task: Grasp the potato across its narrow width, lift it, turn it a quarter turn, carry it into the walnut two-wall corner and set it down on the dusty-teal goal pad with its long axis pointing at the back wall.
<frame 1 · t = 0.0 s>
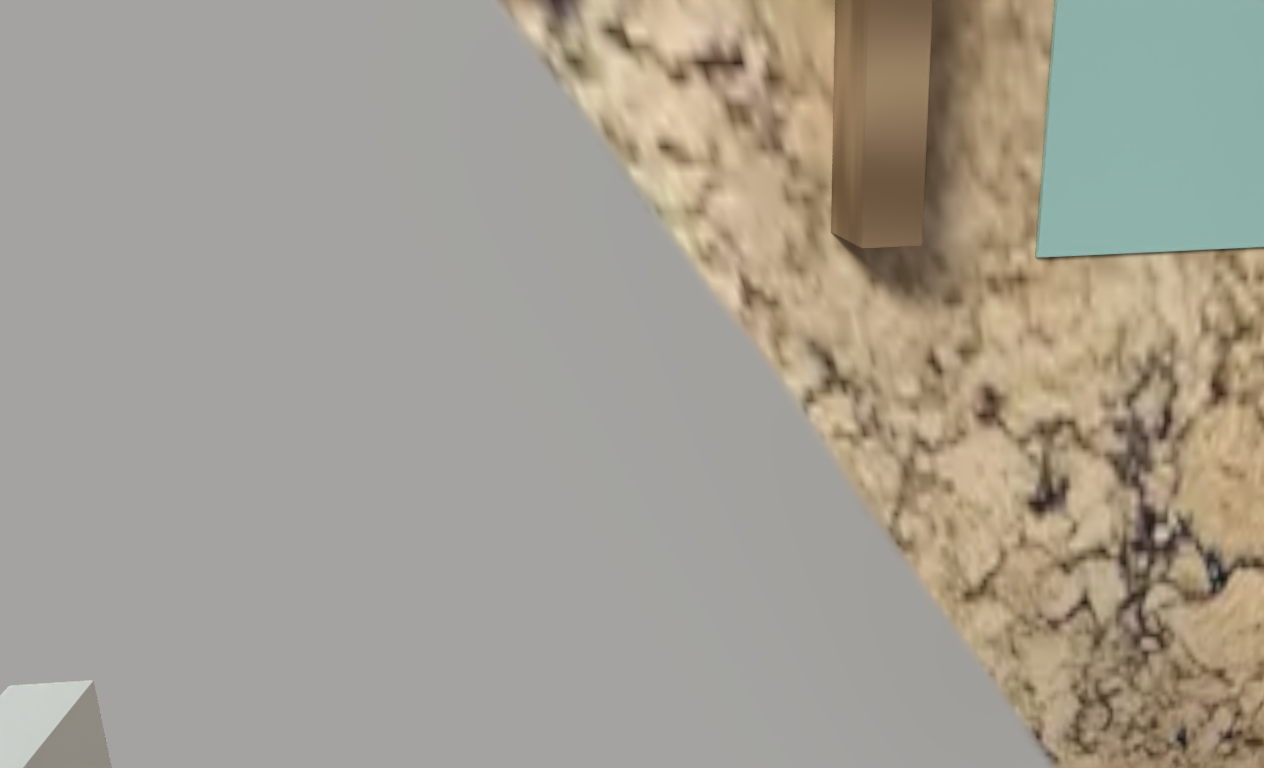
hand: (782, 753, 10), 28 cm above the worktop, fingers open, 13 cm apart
goal pad: (1194, 47, 36), on the worktop
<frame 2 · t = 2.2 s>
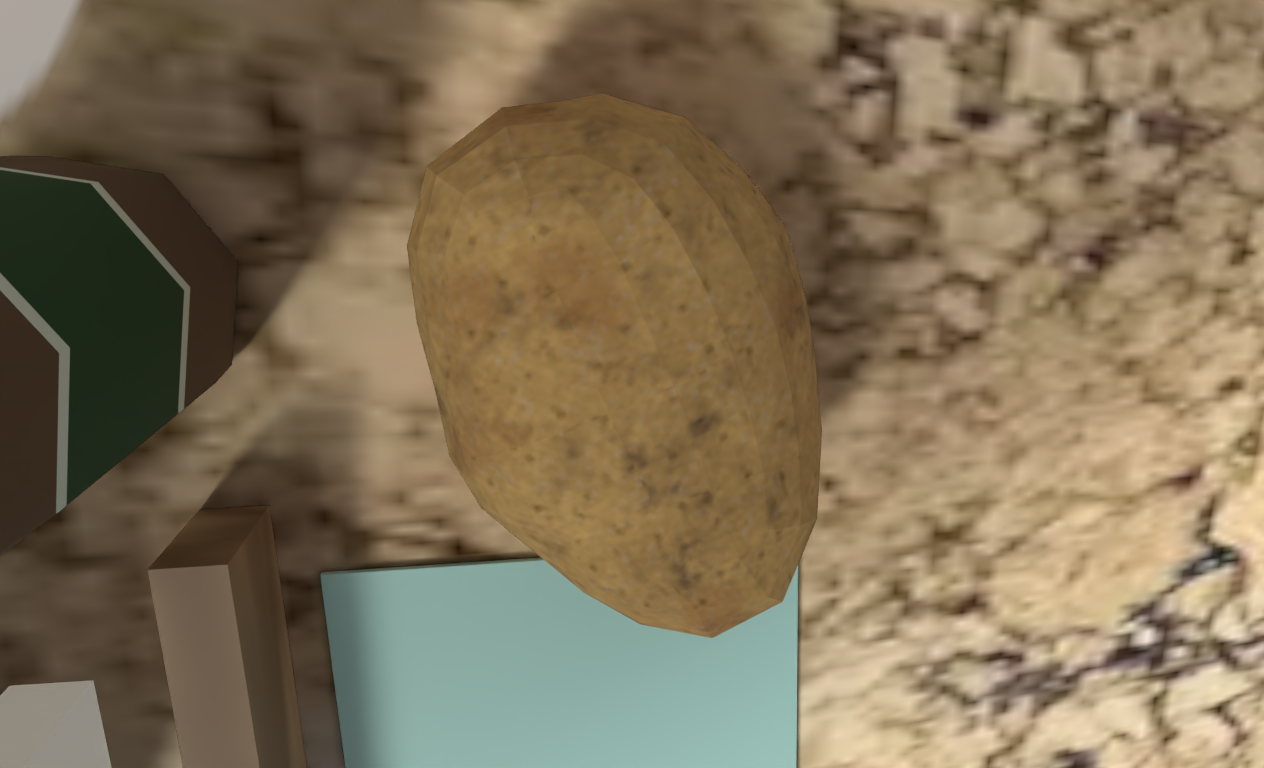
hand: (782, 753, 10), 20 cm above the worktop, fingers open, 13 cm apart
beer bottle: (111, 291, 28), on the worktop
goal pad: (571, 706, 32), on the worktop
potato: (618, 335, 29), on the worktop
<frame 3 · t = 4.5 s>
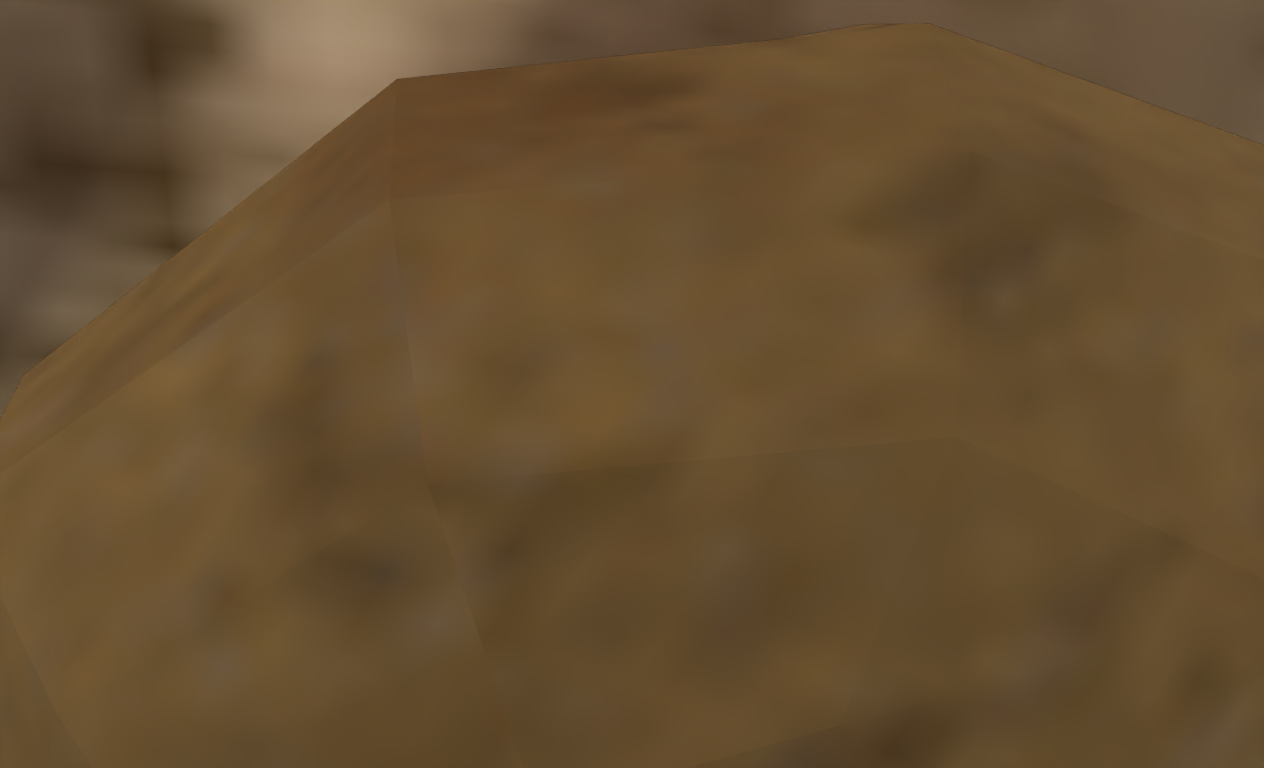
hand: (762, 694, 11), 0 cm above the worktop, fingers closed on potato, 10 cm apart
potato: (766, 677, 12), on the worktop, touching gripper
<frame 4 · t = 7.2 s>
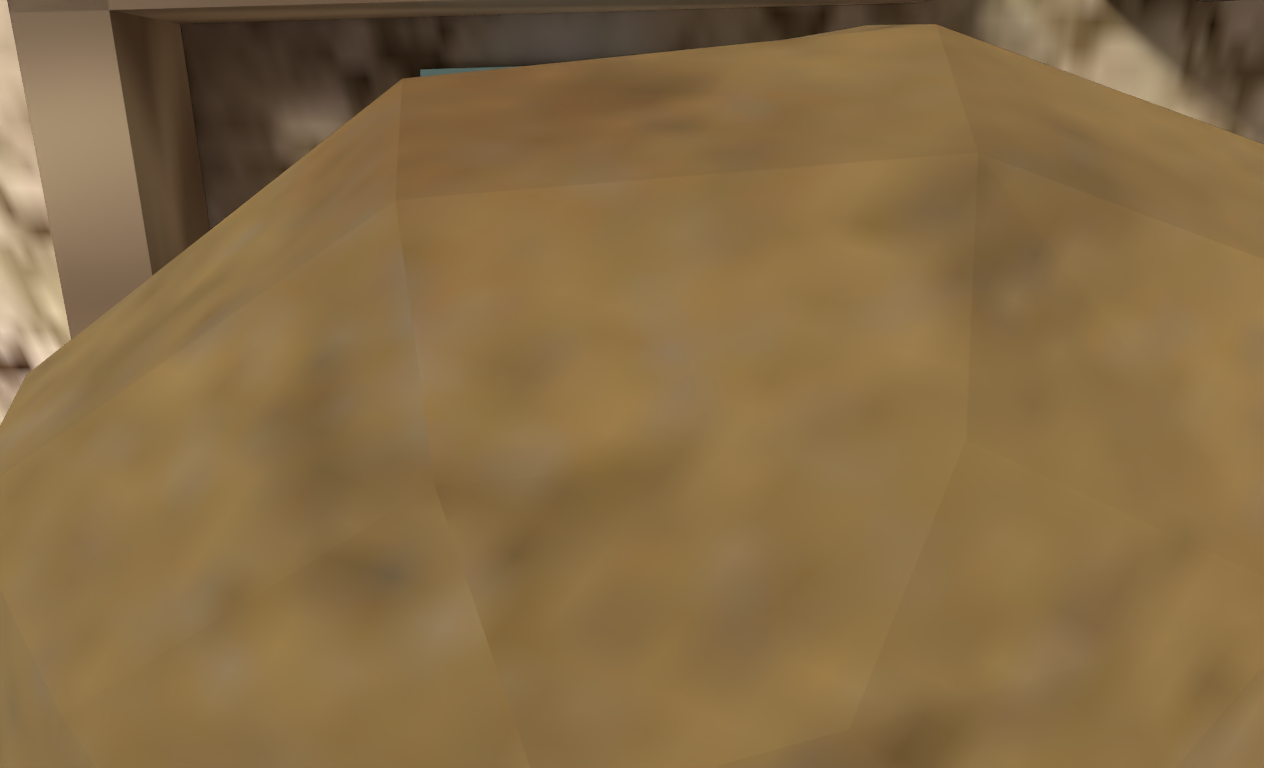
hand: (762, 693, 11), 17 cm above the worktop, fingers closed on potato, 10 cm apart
goal pad: (638, 340, 28), on the worktop
potato: (767, 678, 11), point 17 cm above the worktop, touching gripper
corner arena: (523, 272, 27), on the worktop
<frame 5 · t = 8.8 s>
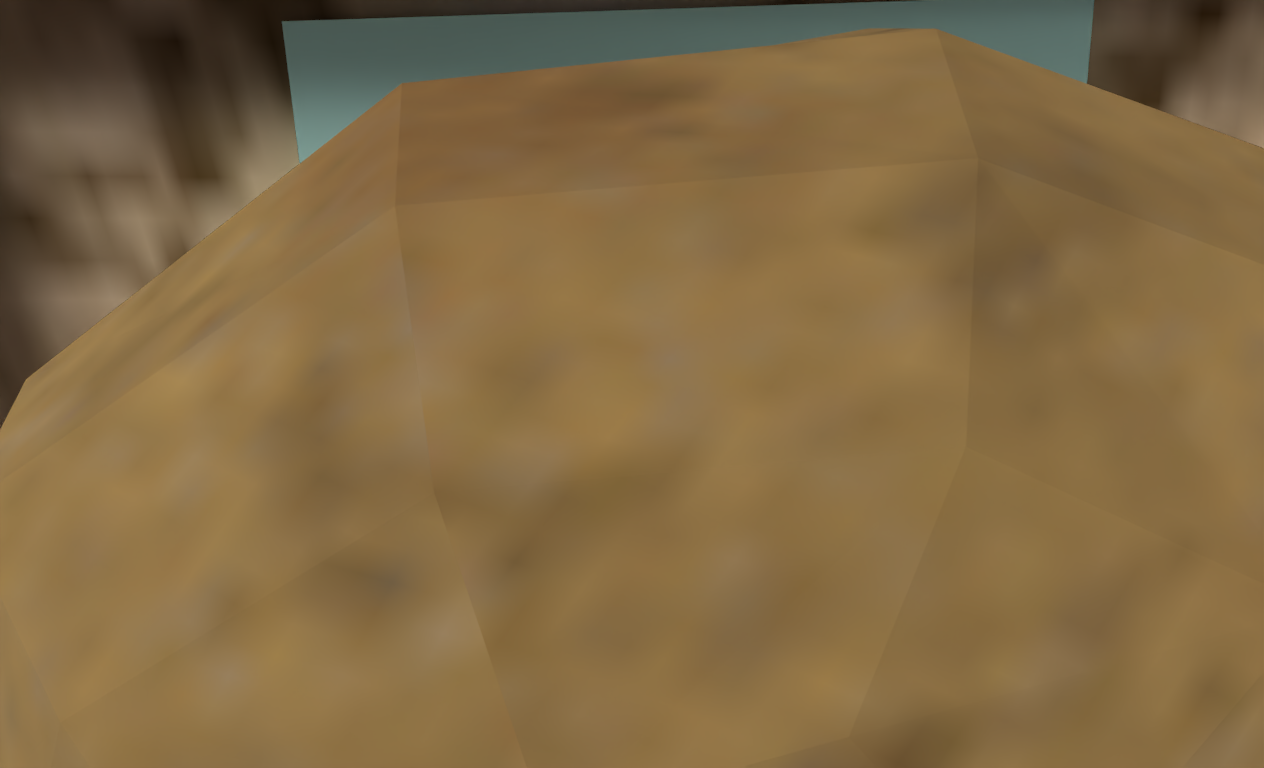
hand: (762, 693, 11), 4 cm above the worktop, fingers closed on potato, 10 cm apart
goal pad: (703, 521, 15), on the worktop
potato: (767, 680, 11), point 4 cm above the worktop, touching gripper
when the fingers open (2 cm above the worktop, at t = 9.7 s): potato drops 1 cm, resting on goal pad.
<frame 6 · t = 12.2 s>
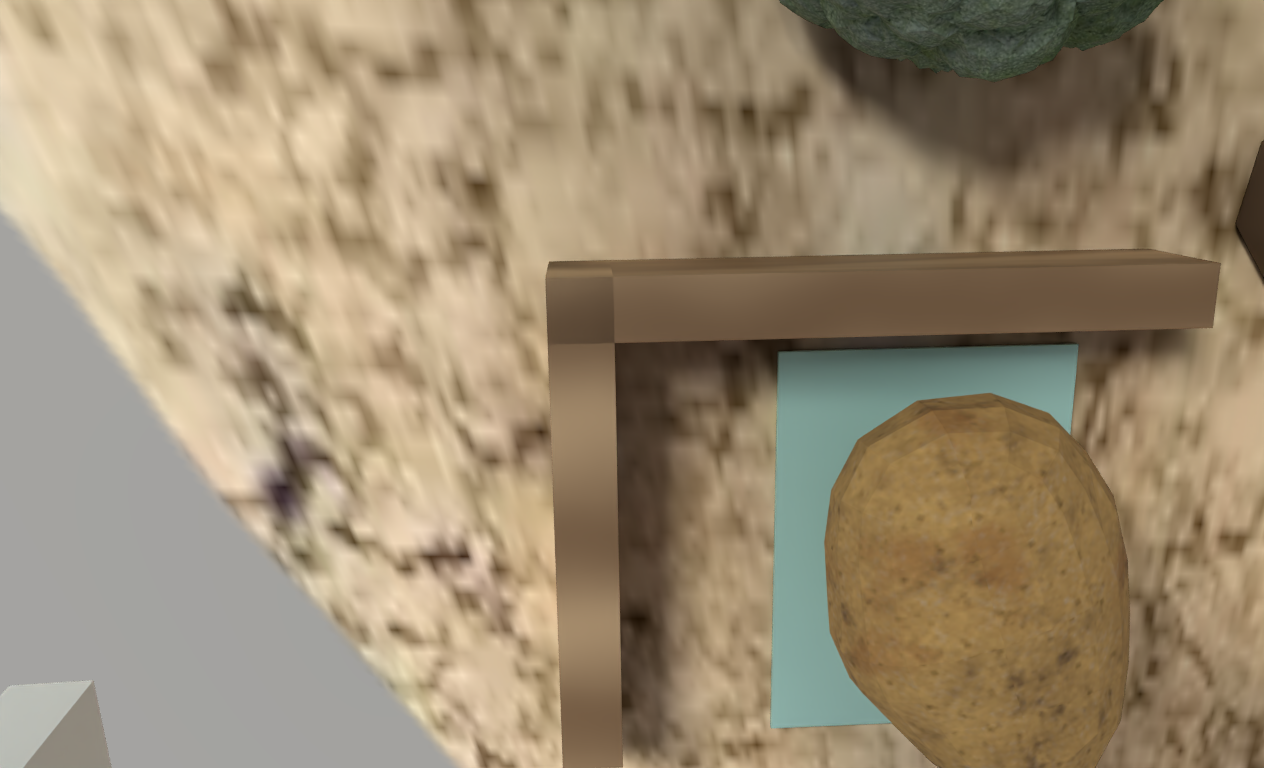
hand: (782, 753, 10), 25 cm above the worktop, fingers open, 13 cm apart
goal pad: (916, 542, 37), on the worktop
potato: (931, 541, 37), resting on goal pad
corner arena: (837, 492, 36), on the worktop
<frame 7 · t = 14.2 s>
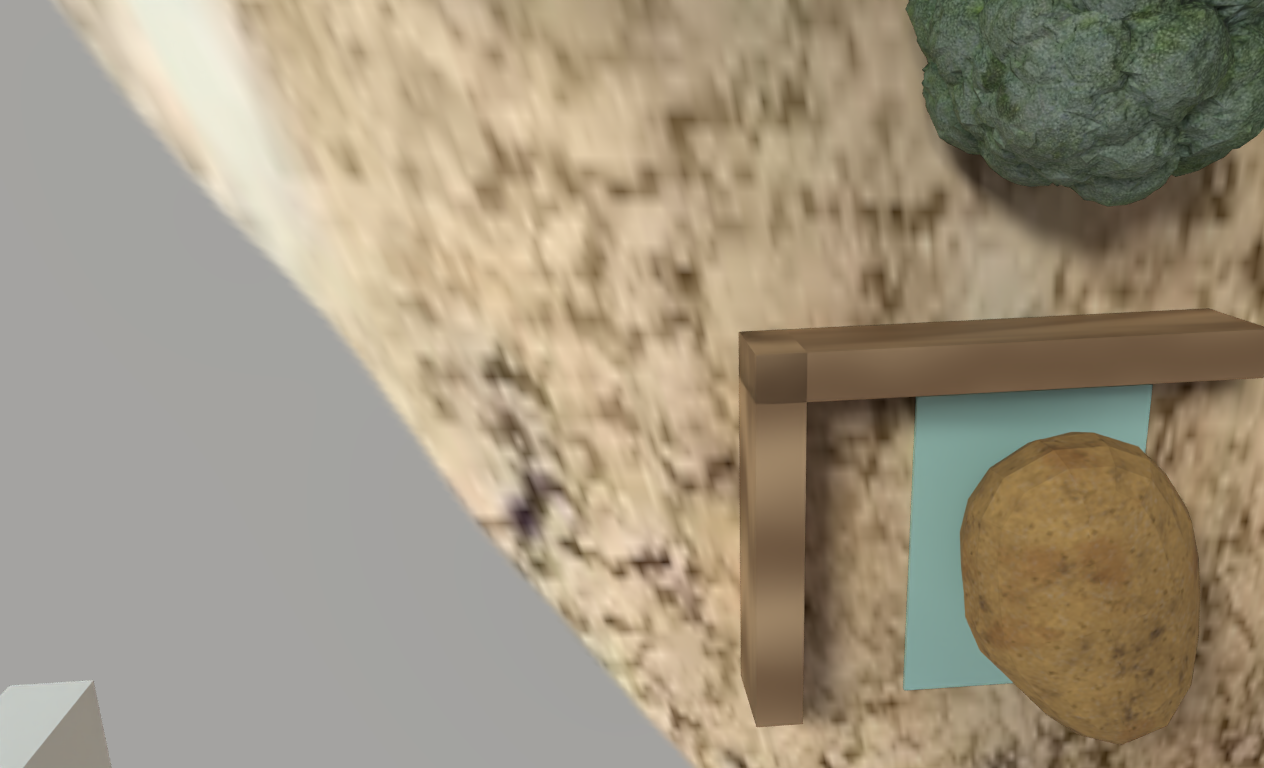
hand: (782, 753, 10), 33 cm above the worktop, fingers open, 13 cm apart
vegetable: (1039, 11, 40), on the worktop
goal pad: (1021, 541, 46), on the worktop
potato: (1033, 540, 46), resting on goal pad
corner arena: (960, 504, 46), on the worktop
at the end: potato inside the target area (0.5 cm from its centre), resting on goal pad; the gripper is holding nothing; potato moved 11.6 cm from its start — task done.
